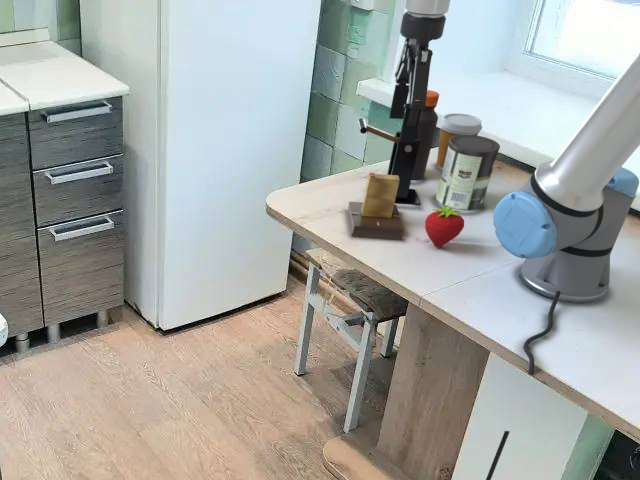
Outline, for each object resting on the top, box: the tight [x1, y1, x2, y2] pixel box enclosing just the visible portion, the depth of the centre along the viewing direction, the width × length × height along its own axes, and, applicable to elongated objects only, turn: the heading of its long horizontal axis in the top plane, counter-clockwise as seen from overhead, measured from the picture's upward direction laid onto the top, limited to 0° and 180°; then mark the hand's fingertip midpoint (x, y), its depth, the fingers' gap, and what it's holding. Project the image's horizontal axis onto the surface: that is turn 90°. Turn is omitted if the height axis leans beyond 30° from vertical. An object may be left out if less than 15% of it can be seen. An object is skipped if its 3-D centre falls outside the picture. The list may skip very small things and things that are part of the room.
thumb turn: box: [361, 172, 400, 218], centre depth 166 cm, size 6×2×9 cm, turn 83°
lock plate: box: [347, 201, 405, 241], centre depth 169 cm, size 12×10×3 cm
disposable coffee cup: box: [436, 112, 483, 169], centre depth 192 cm, size 10×10×12 cm
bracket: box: [386, 130, 421, 206], centre depth 176 cm, size 10×8×15 cm
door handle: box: [357, 118, 399, 143], centre depth 172 cm, size 13×6×2 cm, turn 83°
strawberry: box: [424, 204, 465, 249], centre depth 159 cm, size 6×8×10 cm
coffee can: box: [435, 135, 501, 211], centre depth 175 cm, size 10×10×14 cm
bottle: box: [411, 89, 440, 182], centre depth 184 cm, size 7×7×20 cm
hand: (401, 129), depth 157 cm, fingers open, 13 cm apart
